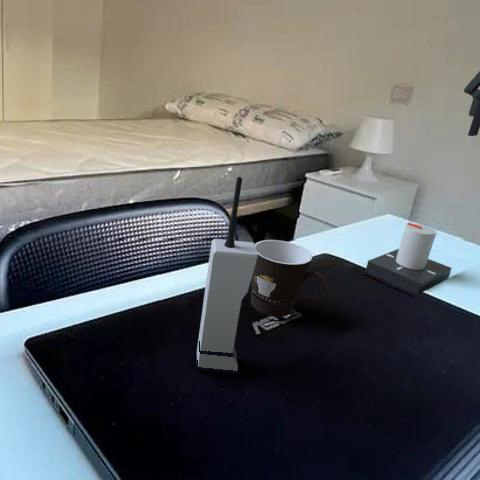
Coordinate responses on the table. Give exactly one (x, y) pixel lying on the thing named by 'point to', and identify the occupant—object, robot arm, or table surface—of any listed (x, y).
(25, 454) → the table surface
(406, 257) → the timer knob
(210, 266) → the vintage mobile phone
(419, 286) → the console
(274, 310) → the coffee mug
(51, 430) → the table surface
